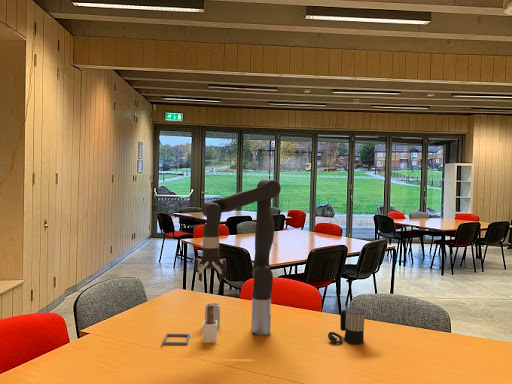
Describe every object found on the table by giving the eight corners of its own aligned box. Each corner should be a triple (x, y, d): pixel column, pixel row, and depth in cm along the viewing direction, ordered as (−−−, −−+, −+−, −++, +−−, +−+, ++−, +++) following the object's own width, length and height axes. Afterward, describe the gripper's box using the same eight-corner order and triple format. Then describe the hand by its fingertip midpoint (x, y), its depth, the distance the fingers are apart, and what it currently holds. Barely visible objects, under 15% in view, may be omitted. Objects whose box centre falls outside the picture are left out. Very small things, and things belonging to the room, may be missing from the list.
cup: (216, 339, 206) (217, 320, 205) (216, 344, 200) (216, 324, 199) (203, 339, 206) (204, 319, 205) (202, 344, 199) (202, 324, 199)
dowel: (213, 338, 204) (214, 304, 204) (212, 341, 201) (213, 306, 200) (206, 338, 204) (207, 304, 203) (206, 341, 201) (207, 306, 200)
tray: (190, 337, 207) (190, 333, 207) (187, 346, 196) (187, 342, 196) (166, 337, 206) (166, 333, 206) (162, 346, 195) (162, 342, 195)
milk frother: (367, 341, 209) (369, 310, 208) (350, 350, 197) (351, 317, 197) (342, 333, 219) (343, 304, 218) (323, 341, 207) (324, 310, 207)
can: (212, 331, 215) (213, 307, 215) (201, 328, 220) (202, 304, 219) (222, 328, 221) (223, 304, 221) (211, 324, 226) (212, 301, 225)
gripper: (226, 245, 205) (226, 279, 206) (196, 244, 205) (195, 279, 206) (226, 247, 198) (225, 283, 198) (194, 247, 198) (193, 283, 198)
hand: (210, 281), depth 202 cm, fingers open, 8 cm apart
